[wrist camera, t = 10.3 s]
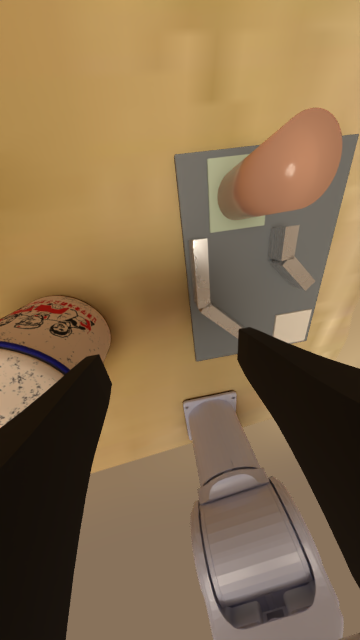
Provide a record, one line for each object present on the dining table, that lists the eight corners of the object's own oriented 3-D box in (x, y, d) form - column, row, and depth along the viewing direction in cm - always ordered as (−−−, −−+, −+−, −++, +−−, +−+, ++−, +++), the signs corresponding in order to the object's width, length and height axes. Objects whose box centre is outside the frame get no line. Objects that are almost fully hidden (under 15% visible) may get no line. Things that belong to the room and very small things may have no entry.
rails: (290, 327, 21) (302, 336, 20) (198, 344, 21) (202, 355, 19) (310, 222, 16) (330, 220, 14) (188, 239, 15) (192, 240, 14)
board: (304, 339, 23) (307, 341, 22) (195, 359, 22) (196, 362, 22) (353, 136, 14) (361, 132, 13) (174, 156, 13) (175, 153, 12)
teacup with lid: (111, 295, 17) (44, 388, 7) (116, 366, 21) (78, 495, 11) (-33, 286, 15) (-448, 399, 5) (2, 367, 19) (-183, 526, 9)
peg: (257, 217, 15) (329, 205, 9) (217, 222, 15) (263, 214, 9) (261, 164, 13) (353, 103, 7) (216, 169, 13) (272, 111, 7)
